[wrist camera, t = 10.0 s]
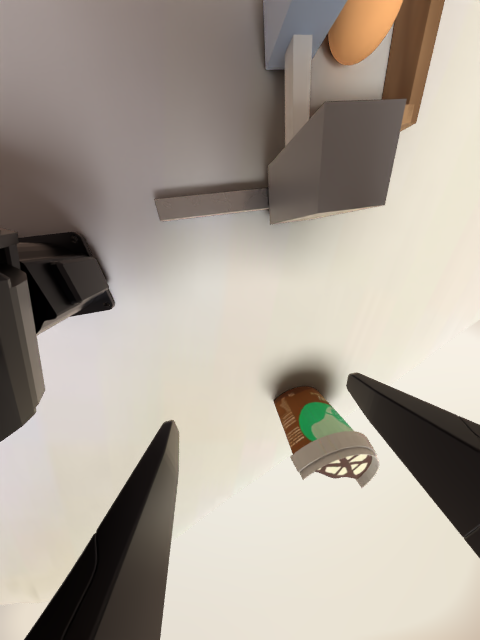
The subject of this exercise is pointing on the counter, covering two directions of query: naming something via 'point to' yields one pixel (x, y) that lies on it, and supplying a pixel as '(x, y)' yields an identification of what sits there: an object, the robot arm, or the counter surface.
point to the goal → (412, 54)
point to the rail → (212, 204)
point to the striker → (323, 125)
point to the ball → (361, 28)
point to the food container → (324, 438)
